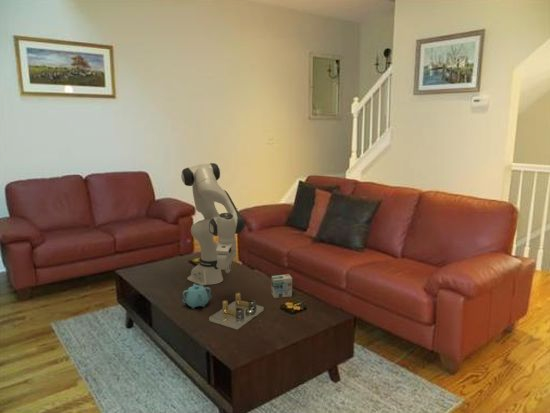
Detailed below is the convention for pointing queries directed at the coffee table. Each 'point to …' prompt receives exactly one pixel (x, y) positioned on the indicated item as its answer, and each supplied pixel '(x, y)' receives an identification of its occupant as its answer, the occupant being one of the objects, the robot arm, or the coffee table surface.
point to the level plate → (231, 319)
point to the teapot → (197, 296)
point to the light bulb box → (281, 286)
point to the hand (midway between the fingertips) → (227, 271)
